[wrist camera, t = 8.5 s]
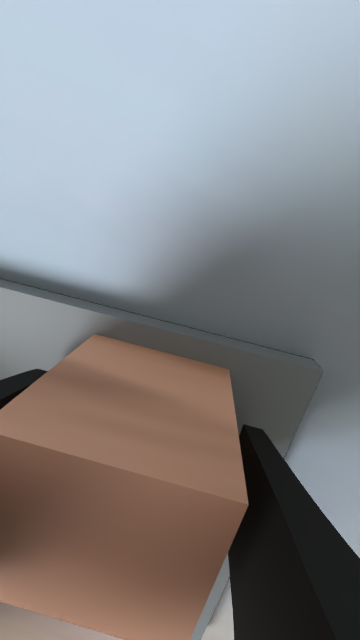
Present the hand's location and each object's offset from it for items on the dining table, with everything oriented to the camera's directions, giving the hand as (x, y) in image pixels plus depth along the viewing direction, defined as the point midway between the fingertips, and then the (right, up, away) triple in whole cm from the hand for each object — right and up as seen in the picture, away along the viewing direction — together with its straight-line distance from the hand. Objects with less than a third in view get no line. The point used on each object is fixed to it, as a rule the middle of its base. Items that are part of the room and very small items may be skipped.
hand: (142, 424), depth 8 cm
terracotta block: (0, 0, +1) cm, 1 cm away
